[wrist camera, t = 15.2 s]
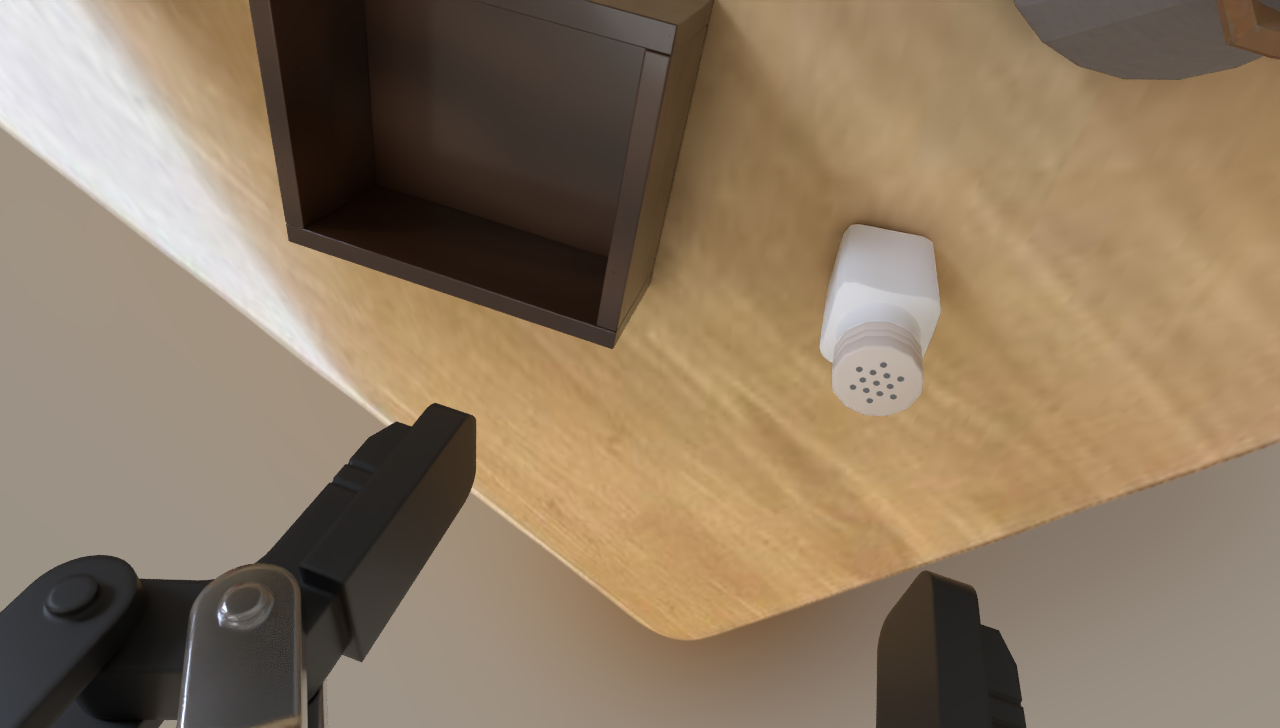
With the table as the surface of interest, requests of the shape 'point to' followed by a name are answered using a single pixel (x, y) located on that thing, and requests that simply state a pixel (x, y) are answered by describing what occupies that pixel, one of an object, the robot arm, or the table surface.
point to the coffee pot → (1157, 34)
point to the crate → (485, 143)
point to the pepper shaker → (880, 318)
